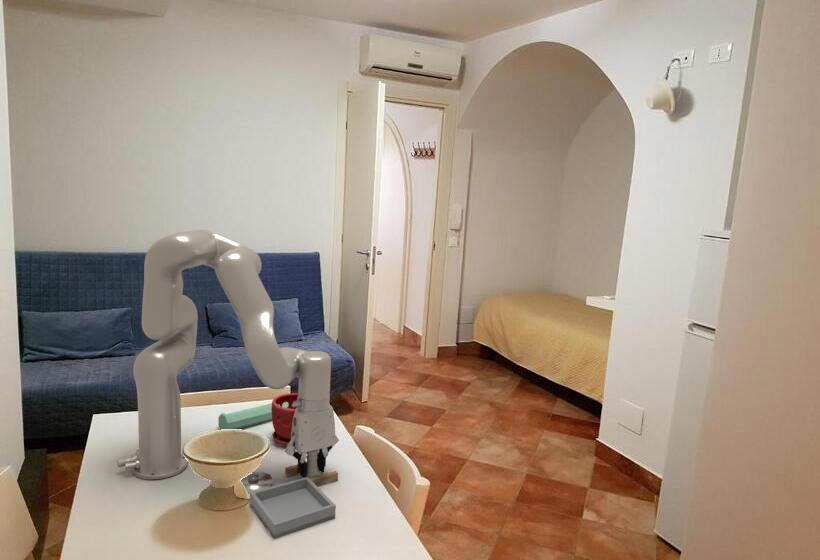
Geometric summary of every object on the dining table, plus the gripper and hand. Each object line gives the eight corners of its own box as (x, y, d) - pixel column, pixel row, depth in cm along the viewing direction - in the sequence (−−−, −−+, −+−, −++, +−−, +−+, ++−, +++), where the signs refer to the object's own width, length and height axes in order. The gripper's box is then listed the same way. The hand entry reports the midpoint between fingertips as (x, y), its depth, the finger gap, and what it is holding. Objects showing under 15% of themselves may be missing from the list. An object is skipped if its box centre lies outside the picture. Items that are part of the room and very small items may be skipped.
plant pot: (296, 455, 147) (298, 413, 146) (260, 442, 154) (261, 401, 152) (327, 438, 159) (328, 398, 157) (292, 426, 165) (293, 388, 163)
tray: (274, 538, 112) (274, 525, 112) (249, 505, 123) (250, 492, 123) (335, 518, 120) (335, 505, 120) (307, 488, 132) (307, 476, 131)
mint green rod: (294, 392, 177) (220, 409, 159) (303, 404, 173) (229, 423, 155) (289, 406, 179) (216, 424, 161) (298, 418, 176) (225, 438, 158)
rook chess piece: (316, 483, 134) (317, 453, 133) (299, 480, 135) (300, 450, 134) (323, 474, 138) (324, 445, 137) (306, 472, 139) (307, 442, 138)
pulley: (241, 503, 124) (241, 490, 123) (228, 485, 131) (228, 472, 130) (278, 492, 129) (279, 480, 128) (264, 475, 136) (264, 463, 136)
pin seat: (300, 491, 130) (300, 483, 130) (285, 475, 137) (285, 467, 137) (337, 480, 136) (338, 473, 136) (321, 465, 143) (321, 458, 143)
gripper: (287, 414, 126) (285, 488, 128) (351, 401, 135) (348, 471, 138) (274, 403, 132) (273, 474, 134) (337, 391, 141) (334, 458, 144)
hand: (311, 472), depth 136 cm, fingers closed on rook chess piece, 4 cm apart
